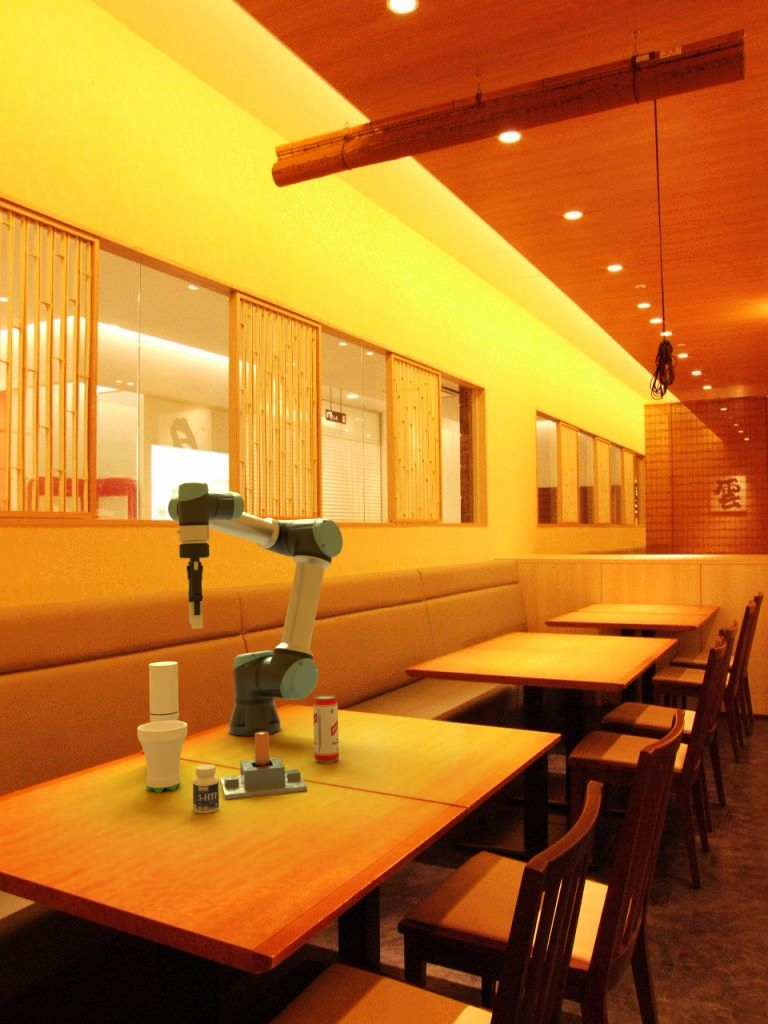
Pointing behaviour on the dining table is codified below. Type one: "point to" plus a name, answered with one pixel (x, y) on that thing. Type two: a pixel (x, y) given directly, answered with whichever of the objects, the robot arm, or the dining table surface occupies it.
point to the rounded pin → (261, 749)
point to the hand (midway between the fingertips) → (195, 626)
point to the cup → (162, 753)
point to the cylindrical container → (163, 691)
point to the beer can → (325, 729)
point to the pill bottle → (205, 790)
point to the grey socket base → (262, 780)
